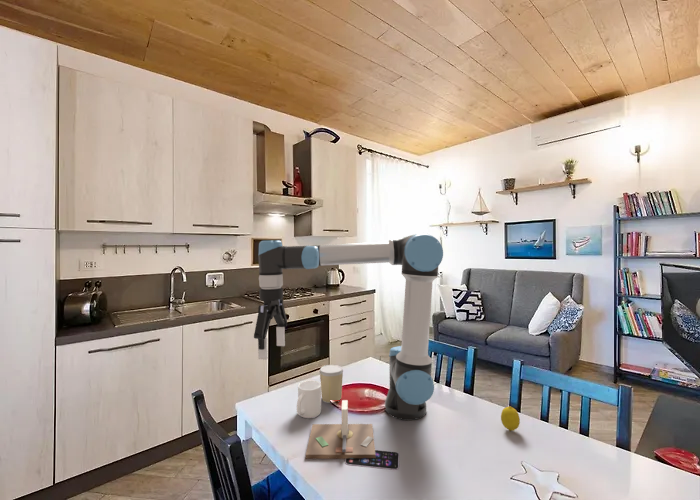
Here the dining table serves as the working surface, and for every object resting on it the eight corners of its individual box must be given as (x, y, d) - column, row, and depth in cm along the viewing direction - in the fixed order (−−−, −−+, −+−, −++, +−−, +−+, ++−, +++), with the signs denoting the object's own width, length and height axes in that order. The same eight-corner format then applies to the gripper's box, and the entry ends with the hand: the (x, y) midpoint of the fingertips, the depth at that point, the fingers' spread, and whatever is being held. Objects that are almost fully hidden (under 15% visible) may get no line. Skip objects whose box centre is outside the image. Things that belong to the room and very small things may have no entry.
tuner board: (372, 427, 110) (372, 423, 110) (375, 458, 94) (375, 453, 94) (312, 427, 111) (312, 423, 111) (305, 458, 95) (305, 453, 95)
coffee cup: (329, 391, 138) (329, 362, 138) (347, 397, 133) (347, 367, 132) (314, 399, 130) (314, 369, 130) (333, 406, 125) (333, 375, 125)
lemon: (519, 428, 109) (519, 404, 109) (520, 437, 104) (520, 412, 104) (500, 424, 112) (500, 401, 111) (500, 433, 107) (500, 408, 106)
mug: (307, 426, 111) (307, 396, 111) (287, 421, 115) (287, 391, 115) (325, 410, 122) (325, 382, 122) (306, 405, 126) (306, 378, 126)
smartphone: (348, 447, 99) (399, 452, 97) (349, 449, 100) (399, 454, 97) (344, 463, 92) (398, 469, 90) (344, 465, 92) (398, 471, 90)
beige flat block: (348, 427, 107) (348, 400, 107) (348, 452, 94) (348, 421, 94) (341, 427, 107) (341, 400, 107) (339, 452, 94) (339, 421, 94)
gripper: (276, 282, 121) (277, 340, 121) (240, 293, 97) (242, 365, 97) (295, 283, 120) (296, 341, 120) (264, 293, 95) (266, 366, 95)
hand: (272, 352), depth 108 cm, fingers open, 13 cm apart
